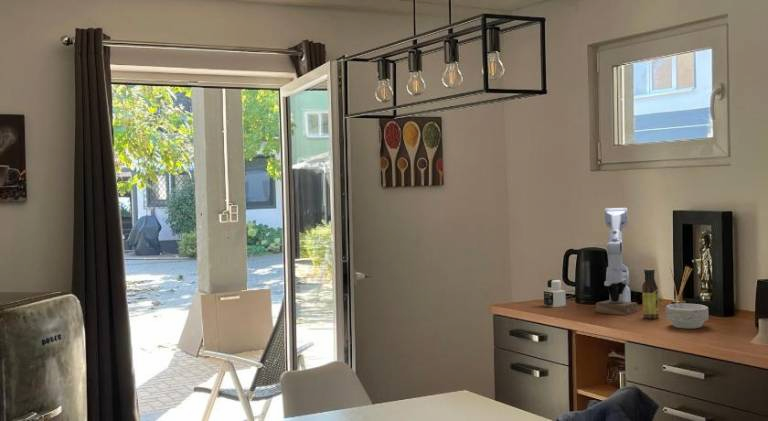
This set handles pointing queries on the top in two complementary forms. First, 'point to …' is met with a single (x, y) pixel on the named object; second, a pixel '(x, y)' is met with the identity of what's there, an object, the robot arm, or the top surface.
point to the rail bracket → (619, 299)
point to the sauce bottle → (650, 296)
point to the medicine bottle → (554, 294)
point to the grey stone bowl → (687, 315)
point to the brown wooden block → (616, 307)
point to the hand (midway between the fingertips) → (616, 300)
